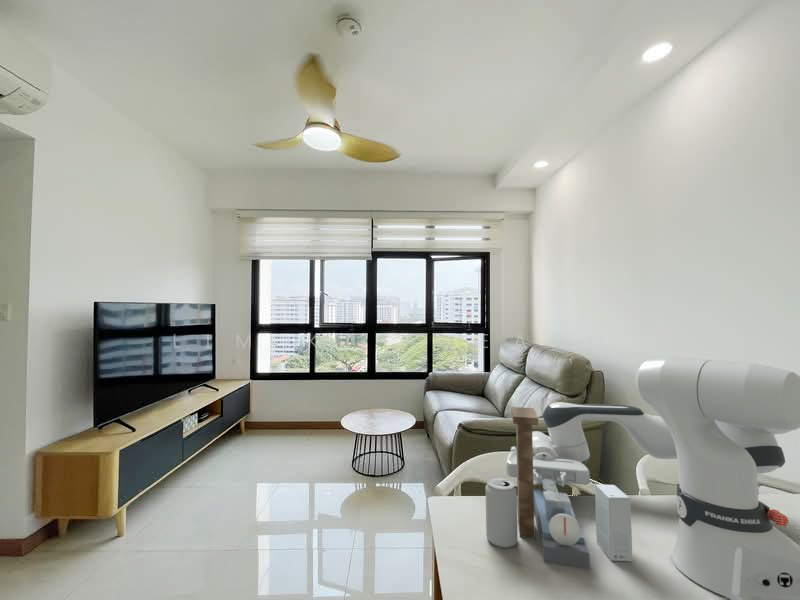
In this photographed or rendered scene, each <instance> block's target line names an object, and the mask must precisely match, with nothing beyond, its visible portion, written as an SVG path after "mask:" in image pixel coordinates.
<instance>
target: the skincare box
mask: <svg viewBox="0 0 800 600" xmlns="http://www.w3.org/2000/svg"><path fill="white" fill-rule="evenodd" d="M594 491H595V493H594V496H595V497H594V498H595V502H594V503H595V529H596V530H595V533H596V543H597V545H598V546H599V547H600V549H602V551H603V552H604V554H605V555H606V556H607V557H608V558H609V560H610V561H614V562H615V561H616V562H633V537H632V536H633V535H632V534H633V533H632V513H631V510H632V509H631V498H630V497H629V495H628V494H626V493H624V492H623V491H622V490H621V489H620V488H619V487H617V485H615V484H604V483H603V484H602V483H601V484H600V483H599V484H597V483H596V484H594Z"/></svg>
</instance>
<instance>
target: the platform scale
mask: <svg viewBox="0 0 800 600" xmlns="http://www.w3.org/2000/svg"><path fill="white" fill-rule="evenodd" d="M533 490H534V521H535V525H536V530H537V534H538V539H539V544H540V548H541V553H542V557H543V563H547V564H553V565H557V566H558V565H559V566H565V567H571V568H578V569H584V570H590V569H591V561H590V559H591V557H590V550H589V549H588V546H587V544H586V540H585V537H584V534H583V532H582V530H581V528H580V525H579V523H578V520H577V517H576V515H575V513H574V510H573V508H572V506H571V516H570V515H567V514H557V515H555V516H553V517H552V518H551V519H546V517H545V513H544V505H543V491H544V489H535V488H533ZM558 492H559V493H565V494H567V493H566V492H563V491H558ZM590 571H591V570H590Z"/></svg>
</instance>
